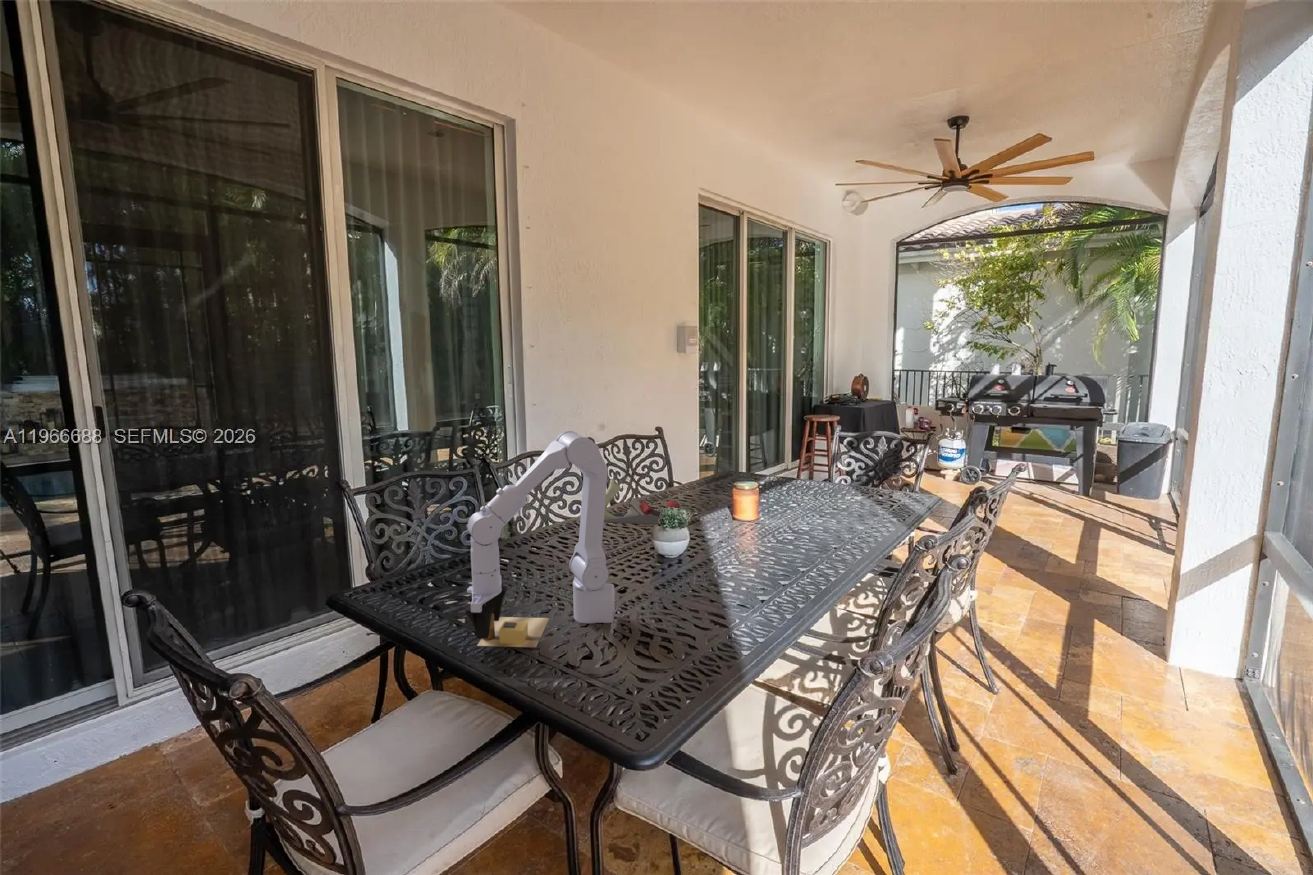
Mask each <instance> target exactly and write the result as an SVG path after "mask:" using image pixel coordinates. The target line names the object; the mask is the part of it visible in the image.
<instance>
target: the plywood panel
mask: <svg viewBox="0 0 1313 875" xmlns="http://www.w3.org/2000/svg"><path fill="white" fill-rule="evenodd" d="M505 621H514V622H528V636H527V638H526V640H525V642H524V644H500V637H499V630H500V628H501V626H502V625H503V623H504V622H505ZM549 621H550V617H526V616H525V617H520V616H519V617H518V616H515V617H513V616H500V618H499V621H494V626H495V638H494V639H492V640H488V641H486V640H483V639H480V640H479V642H478V643H477V644H476V646H477V647H503V648H504V647H505V648H506V647H508V648H509V647H510V648H512V647H513V648H514V647H515V648H537V646H538V644H539V642H540V640H541V638H542V636H543V633H544V631H545V629H546V627H547V625H548V622H549Z"/></svg>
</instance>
